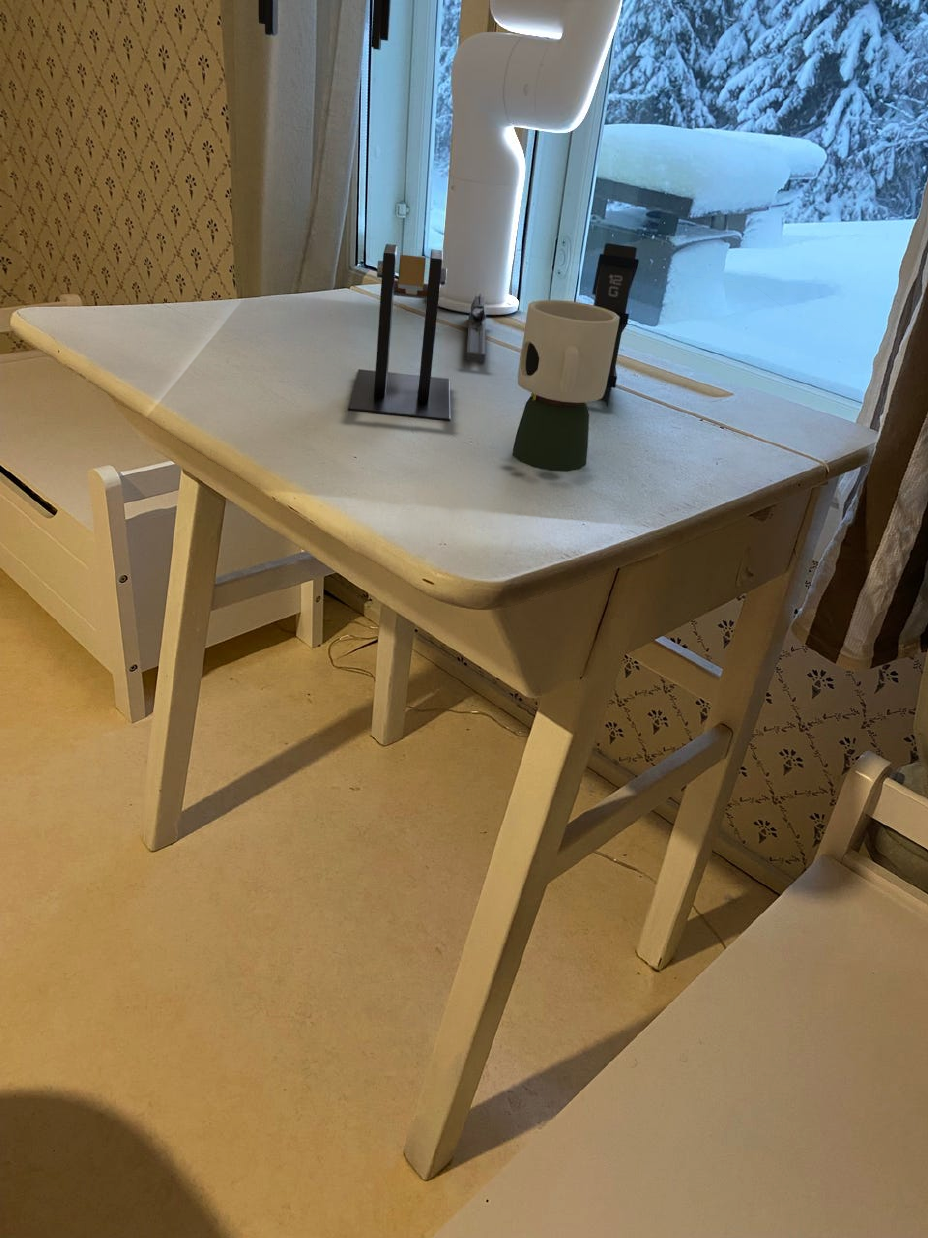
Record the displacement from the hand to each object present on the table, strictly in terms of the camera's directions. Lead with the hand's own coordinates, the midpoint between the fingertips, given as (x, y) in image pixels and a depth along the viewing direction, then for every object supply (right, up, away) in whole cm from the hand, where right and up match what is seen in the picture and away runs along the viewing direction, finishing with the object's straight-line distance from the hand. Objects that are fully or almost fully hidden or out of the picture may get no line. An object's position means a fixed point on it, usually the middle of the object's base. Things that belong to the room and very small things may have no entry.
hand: (323, 41), depth 86 cm
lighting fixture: (+14, -22, +22) cm, 34 cm away
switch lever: (+8, -23, +1) cm, 24 cm away
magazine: (+27, -29, +13) cm, 42 cm away
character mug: (+20, -41, -8) cm, 46 cm away
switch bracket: (+7, -33, +2) cm, 34 cm away
